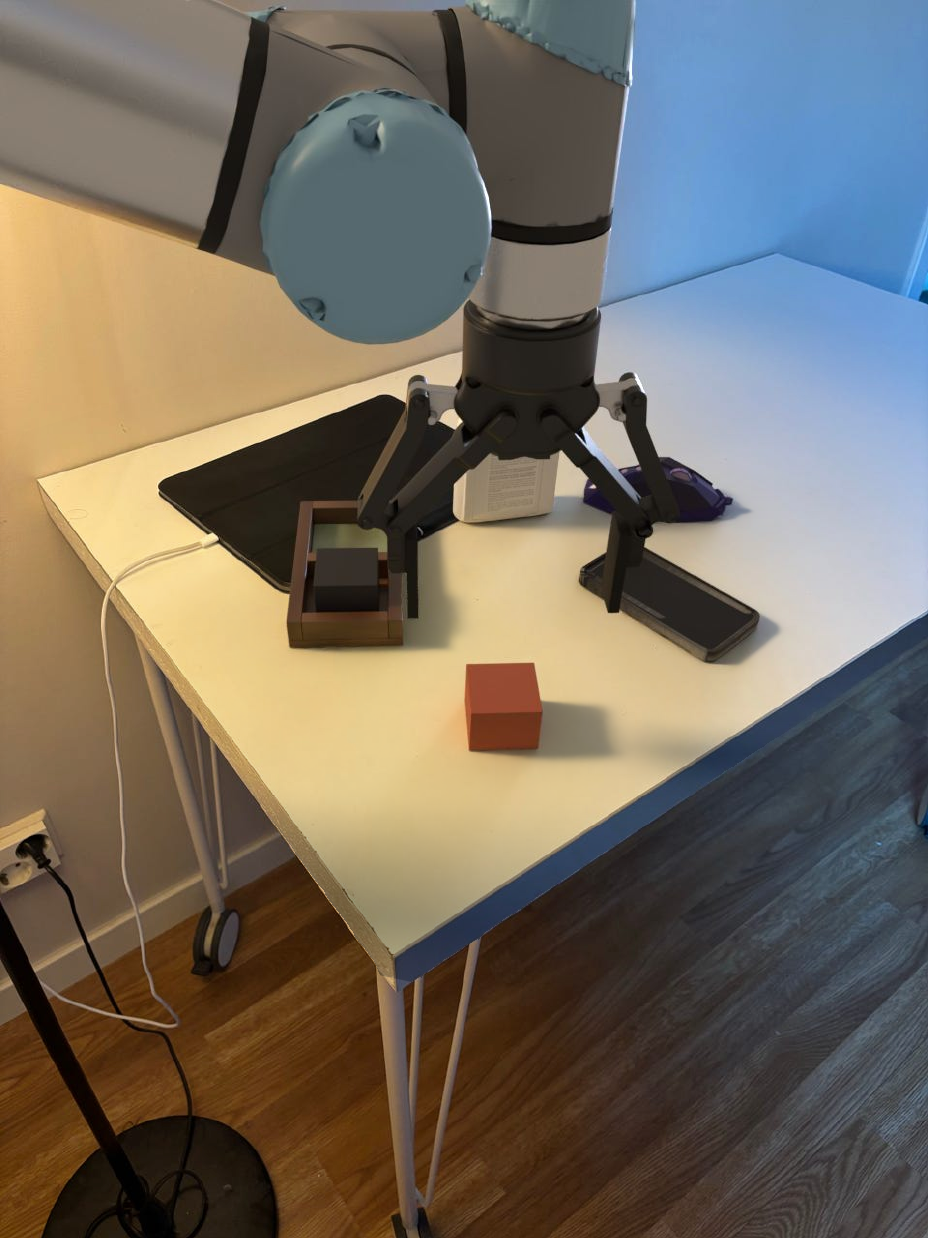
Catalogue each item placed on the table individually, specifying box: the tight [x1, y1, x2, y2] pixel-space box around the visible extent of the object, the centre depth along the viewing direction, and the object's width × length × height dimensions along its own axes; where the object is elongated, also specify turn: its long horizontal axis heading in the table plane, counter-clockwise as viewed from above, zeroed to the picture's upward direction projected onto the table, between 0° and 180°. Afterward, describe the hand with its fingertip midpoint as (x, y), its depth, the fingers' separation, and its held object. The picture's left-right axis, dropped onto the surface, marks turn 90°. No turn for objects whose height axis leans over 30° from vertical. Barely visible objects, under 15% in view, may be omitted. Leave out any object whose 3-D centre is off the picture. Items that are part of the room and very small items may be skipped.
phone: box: [578, 546, 761, 663], centre depth 84 cm, size 8×1×15 cm
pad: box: [463, 662, 544, 752], centre depth 72 cm, size 5×5×4 cm
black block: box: [313, 548, 379, 613], centre depth 81 cm, size 5×5×4 cm
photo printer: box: [452, 415, 561, 523], centre depth 91 cm, size 10×4×12 cm, turn 105°
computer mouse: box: [582, 456, 734, 523], centre depth 96 cm, size 9×15×4 cm, turn 79°
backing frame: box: [285, 500, 404, 648], centre depth 85 cm, size 9×18×3 cm, turn 4°
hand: (511, 603), depth 65 cm, fingers open, 13 cm apart
